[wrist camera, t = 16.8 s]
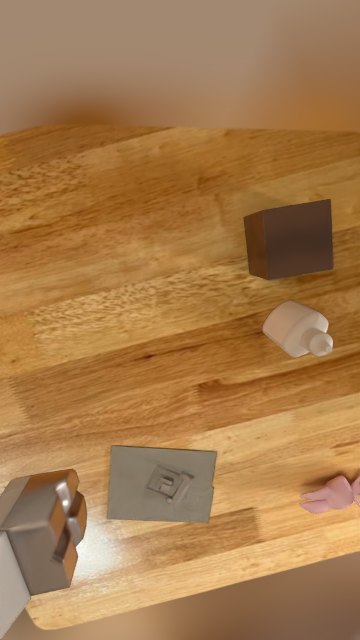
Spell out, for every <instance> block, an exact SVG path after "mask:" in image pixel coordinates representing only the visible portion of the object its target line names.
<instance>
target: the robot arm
mask: <svg viewBox="0 0 360 640" xmlns="http://www.w3.org/2000/svg"><path fill="white" fill-rule="evenodd" d="M78 484H79V479H78V476H77V473H76V471H75V470H74V469H67V470H60V471H54V472H47V473H41V474H35V475H29V476H24V477H18V478H15V479H13V480H11V481H10V482H9V484H8V485H7V487H6V488H5V490H4V491H3V493H2V494H1V496H0V639H1V638H2V637H3V636H4V634H5V633H6V632H7V630H8V629H9V627H10V626H11V625H12V624H13V622H14V621H15V620H16V618H17V617H18V616H19V614H20V613H21V611H22V610H23V609H24V608H25V606H26V605H27V604H28V602H29V601H30V600H31V596H33V595H38V594H42V593H47V592H51V591H56V590H61V589H65V588H70V585H71V581H72V577H73V574H74V570H75V567H76V563H77V559H78V554H77V551H76V548H75V547H76V546H77V545H78V544H79V543H80V541H81V540H82V539H83V537H84V533H85V529H86V522H87V509H86V502H85V499H84V496H83V495H82V494H81V493H80V492H78V491H77V487H78Z"/></svg>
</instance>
